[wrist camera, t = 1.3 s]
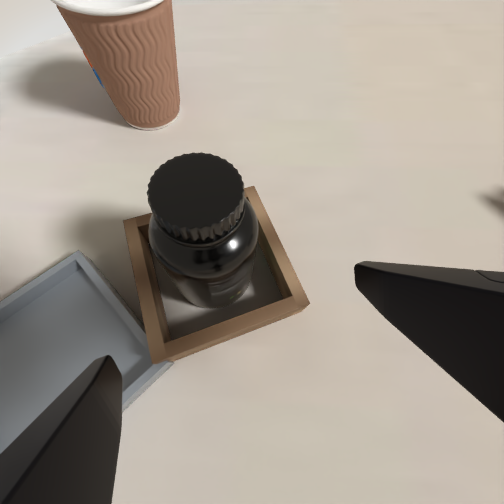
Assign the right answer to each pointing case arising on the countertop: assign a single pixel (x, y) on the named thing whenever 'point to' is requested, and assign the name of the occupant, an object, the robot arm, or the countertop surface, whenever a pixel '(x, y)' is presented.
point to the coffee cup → (130, 55)
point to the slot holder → (225, 330)
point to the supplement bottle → (203, 228)
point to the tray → (66, 341)
